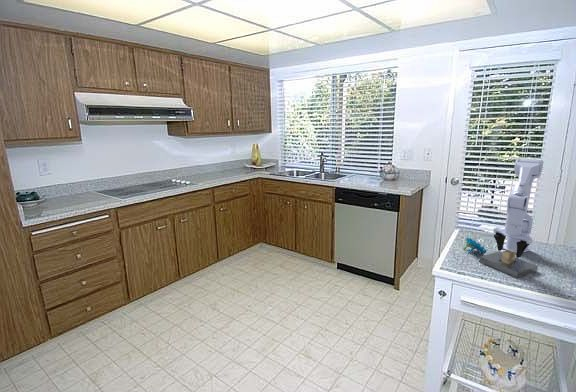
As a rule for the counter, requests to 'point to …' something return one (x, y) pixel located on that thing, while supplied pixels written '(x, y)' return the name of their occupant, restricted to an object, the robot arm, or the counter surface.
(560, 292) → the counter surface
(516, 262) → the gray slab with hole
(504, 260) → the tan wooden beam
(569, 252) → the counter surface
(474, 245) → the blue irregular piece
